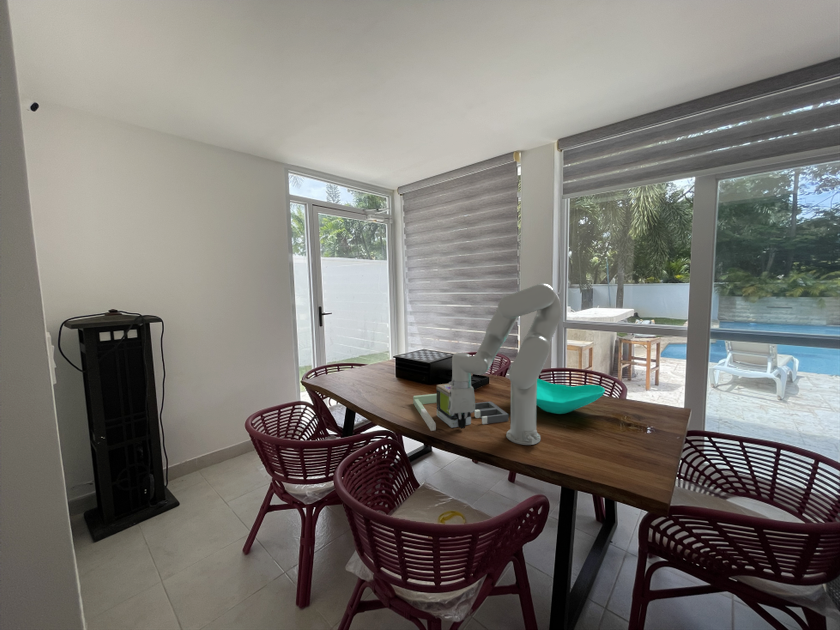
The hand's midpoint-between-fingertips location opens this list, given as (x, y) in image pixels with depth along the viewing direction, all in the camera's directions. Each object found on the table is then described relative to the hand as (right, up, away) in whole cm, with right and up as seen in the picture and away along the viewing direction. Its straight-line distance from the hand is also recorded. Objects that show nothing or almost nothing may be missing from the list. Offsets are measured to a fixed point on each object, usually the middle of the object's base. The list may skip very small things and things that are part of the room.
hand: (461, 427), depth 137 cm
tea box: (-2, -1, +11) cm, 11 cm away
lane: (-4, 0, +19) cm, 19 cm away
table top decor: (+46, +1, +18) cm, 50 cm away
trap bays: (+15, 0, +15) cm, 21 cm away
